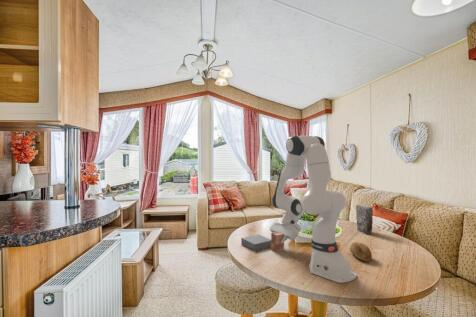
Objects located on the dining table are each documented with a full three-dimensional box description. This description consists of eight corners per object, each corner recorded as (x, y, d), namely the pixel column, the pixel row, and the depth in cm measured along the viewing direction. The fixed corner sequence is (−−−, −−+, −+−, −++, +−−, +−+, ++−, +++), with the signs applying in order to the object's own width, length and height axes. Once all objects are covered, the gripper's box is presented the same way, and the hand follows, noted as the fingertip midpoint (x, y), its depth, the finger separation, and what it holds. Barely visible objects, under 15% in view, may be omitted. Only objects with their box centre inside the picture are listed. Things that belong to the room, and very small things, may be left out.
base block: (272, 246, 159) (272, 240, 159) (254, 251, 152) (254, 244, 152) (258, 240, 171) (258, 234, 171) (241, 244, 163) (241, 238, 163)
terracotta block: (284, 250, 153) (284, 233, 153) (277, 252, 150) (277, 235, 150) (277, 247, 158) (277, 231, 158) (271, 249, 155) (271, 233, 155)
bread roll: (358, 263, 135) (358, 248, 135) (345, 252, 150) (345, 239, 150) (376, 263, 135) (376, 248, 135) (361, 252, 150) (361, 239, 150)
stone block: (354, 229, 197) (354, 204, 197) (362, 229, 198) (362, 203, 198) (366, 234, 184) (366, 207, 184) (374, 234, 185) (374, 207, 185)
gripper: (274, 216, 166) (263, 233, 161) (298, 223, 149) (285, 242, 144) (279, 222, 169) (268, 239, 163) (303, 229, 152) (291, 249, 146)
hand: (276, 241), depth 153 cm, fingers closed on terracotta block, 5 cm apart
